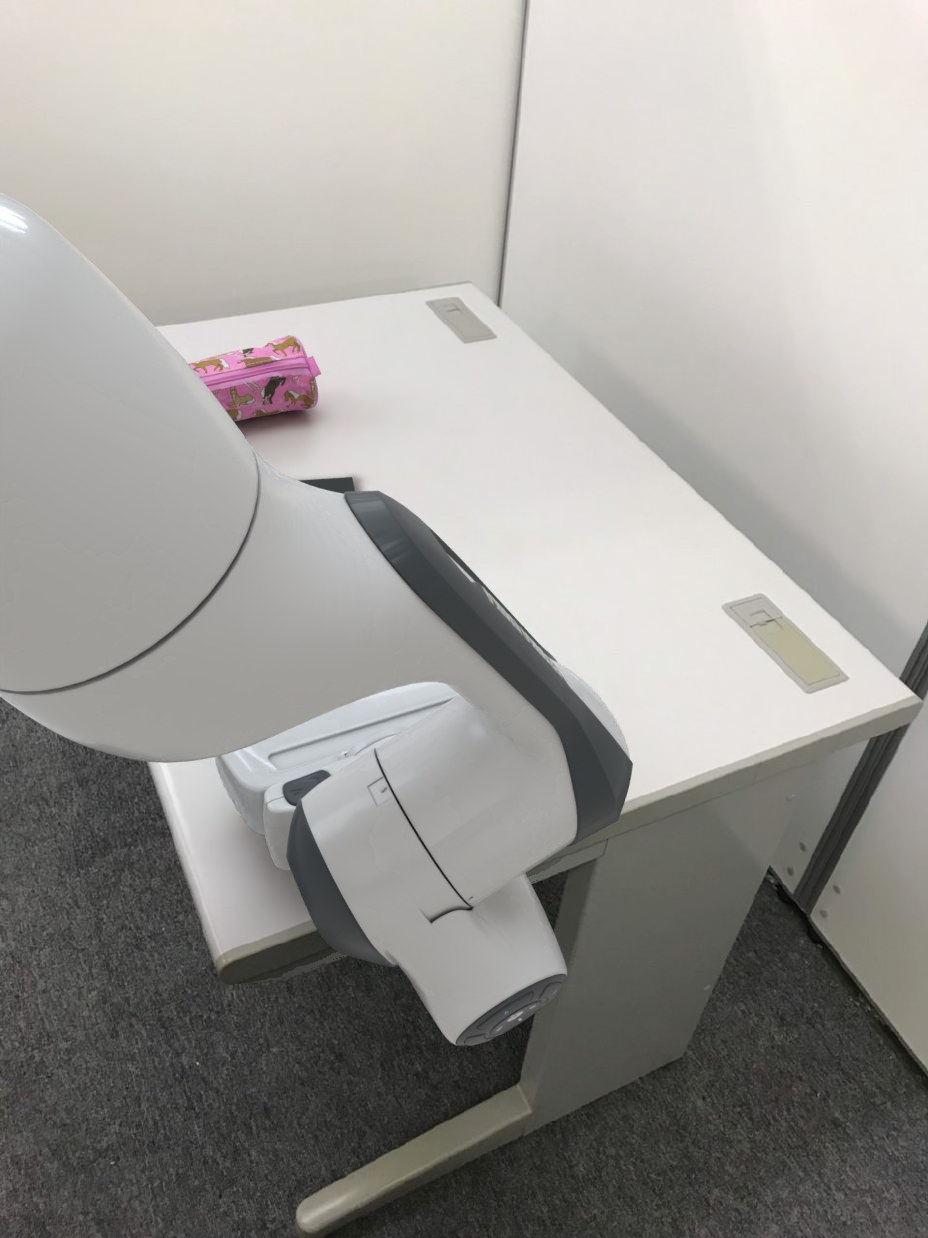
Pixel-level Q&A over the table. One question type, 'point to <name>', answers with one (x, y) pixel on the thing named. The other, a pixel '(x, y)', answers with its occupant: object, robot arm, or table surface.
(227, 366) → the pencil case
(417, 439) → the table surface
